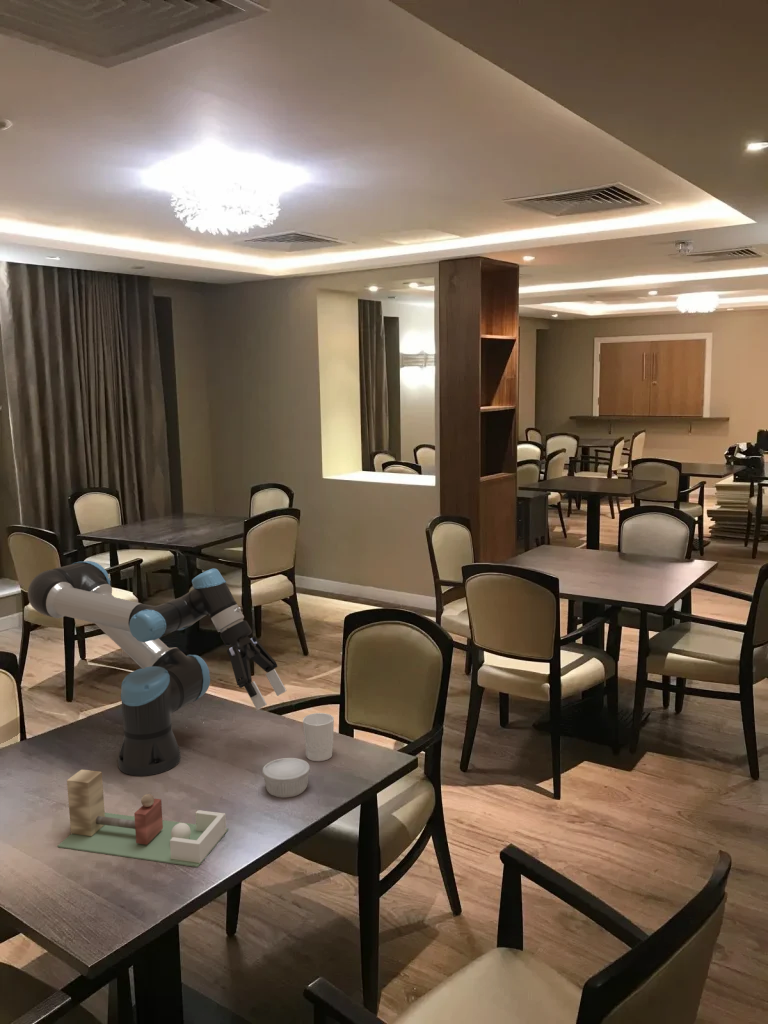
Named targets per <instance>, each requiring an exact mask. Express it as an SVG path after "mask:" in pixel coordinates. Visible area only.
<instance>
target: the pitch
mask: <svg viewBox="0 0 768 1024" xmlns="http://www.w3.org/2000/svg"><path fill="white" fill-rule="evenodd" d="M105 817H110V818H118V819H126V820H133V821H135V816H134V815H128V814H119V813H111V812H105ZM162 821H163V829H162V830H161V831H160V832H159V833H158V834H157V835H156V836H155V837H154V838H153V839H152V840H151V841H150V842H149V843H148V844H147V845H146V844H139V843H136V832H135V829H131V828H124V827H116V826H109V825H104V826H102V827H101V828H100V829H99V830H98V831H97V832H96V833H95V834H94V835H92V836H86V835H79V834H72V833H70V834H69V835H68V836H67V837H66V838H64V839H63V841H62V842H60V843H59V844H58V845H57V848H60V849H61V848H62V849H69V850H74V851H83V852H90V853H96V854H102V855H103V854H104V855H110V856H116V857H123V858H124V857H125V858H131V859H139V860H144V861H151V862H159V863H164V864H165V863H166V864H172V865H173V864H174V865H177V866H178V865H179V866H186V867H193V868H199V866H200V865H201V864H202V863H203V862H204V860H205V859H206V858H207V857H208V855H209V854H210V853H211V852H212V851H213V849H214V848H215V847H216V846H217V845H218V844H219V842H220V841H221V839H222V838H223V837H224V836H225V835H226V834H227V832H228V831H229V828H227V827H226V832H225V833H224V834H223V836H222V837H221V838H220V839H219V841H218V842H217V843H216V844H215V845H214V847H213V848H212V849H211V850H210V852H209V853H208V854H207V855H206V856H205V858H204V859H203V860H202V861H201V863H196V862H189V861H182V860H175V859H171V851H170V840H171V839H172V837H171V831H172V829H173V827H174V826H175V825H176V824H178V823H182V822H179V821H173V820H164V819H162ZM184 823H185V824H187V825H188V826H189V827H190V830H191V835H190V838H189V839H190V840H197V839H198V838H199V837H200V836H201V835H202V833H203V832H204V831H197V830H196V823H188V822H184Z"/></svg>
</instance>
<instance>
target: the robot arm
mask: <svg viewBox="0 0 768 1024" xmlns="http://www.w3.org/2000/svg"><path fill="white" fill-rule="evenodd" d="M191 583H192V588H193V589H191V590H190V591H188V592H187V593H185V594H183V595H182V596H180V597H178V598H174V599H172V600H169V601H167V602H163V603H161V604H158V605H150V604H144V603H141V602H137V601H134V600H129V599H124V598H120V597H115V596H114V595H113V594H112V593H113V588H112V585H111V579H110V578H109V573H108V571H107V570H106V569H105V568H104V566H102V565H100V564H99V563H98V562H95V561H92V560H85V561H77V562H73V563H71V564H68V565H64V566H60V567H56V568H52V569H51V568H50V569H48V570H45V571H44V570H43V571H42V572H40V573H38V574H37V575H36V576H35V577H33V579H32V580H31V582H30V583H29V586H28V588H27V598H28V603H29V604H30V605H31V607H32V608H33V609H34V610H35V611H36V612H38V613H40V614H41V615H43V616H46V617H49V618H50V617H51V618H54V619H61V618H63V617H68V618H72V619H77V620H78V621H79V620H80V621H84V622H89V623H91V624H95V625H96V626H97V627H98V628H99V629H100V630H101V631H102V632H103V633H104V634H106V636H108V637H109V638H110V639H111V640H112V642H113V643H115V644H116V645H117V646H118V647H119V648H120V649H121V651H122V650H123V652H124V653H125V654H126V655H127V656H128V657H130V658H131V660H133V661H134V662H135V663H136V664H137V665H138V666H139V667H140V668H138V669H136V670H133V671H132V672H130V673H128V674H127V675H125V677H124V678H123V680H122V681H121V685H120V687H121V688H120V689H121V693H120V700H121V710H122V713H121V714H122V724H123V739H122V743H121V747H120V750H119V753H118V758H117V760H118V761H117V762H118V763H117V764H118V768H119V771H121V772H122V773H124V774H126V775H129V776H136V777H137V776H139V777H143V776H153V775H156V774H161V773H164V772H166V771H169V770H171V769H172V768H173V769H174V768H175V767H176V766H177V765H178V764H179V763H180V761H181V749H180V746H179V745H178V742H177V739H176V737H175V734H174V732H173V729H172V727H173V726H172V714H173V713H174V712H177V711H178V710H180V709H182V708H183V707H185V706H188V705H189V704H191V703H194V702H196V701H197V700H199V699H200V698H201V697H203V696H204V695H205V694H206V693H207V692H208V690H209V687H210V684H211V676H210V673H211V672H210V669H209V666H208V664H207V662H206V661H205V660H204V659H203V658H202V656H199V655H197V654H187V655H186V654H185V653H184V652H183V651H182V650H181V649H179V648H178V647H169V646H167V644H166V643H164V641H162V640H161V638H162V637H164V636H165V635H168V634H170V633H172V632H176V631H183V630H186V629H188V628H189V627H191V626H193V625H194V624H195V623H196V622H198V621H199V620H201V619H203V618H204V617H205V616H207V615H208V616H209V617H210V620H211V621H212V623H213V625H214V628H215V629H216V631H217V632H218V633H219V632H220V635H219V636H220V638H221V640H222V641H223V644H224V646H225V647H229V648H227V649H226V653H227V655H228V657H229V660H230V663H231V667H232V670H233V675H234V678H235V681H236V685H237V686H238V687H239V689H242V688H244V689H245V691H246V693H247V695H248V696H249V698H250V700H251V701H252V704H253V706H254V708H255V709H256V711H258V710H260V709H262V708H264V707H265V706H267V705H268V704H267V702H266V700H265V698H264V696H263V694H262V693H261V690H260V689H259V687H258V684H257V683H256V681H254V680H253V679H252V671H251V663H250V660H252V661H253V662H254V663H255V664H256V665H257V666H258V667H260V668H261V669H262V670H263V671H265V672H266V673H265V676H266V678H267V680H268V682H269V683H270V686H271V688H272V689H273V691H274V694H275V695H276V696H277V697H279V696H280V695H282V694H284V693H286V692H287V689H286V687H285V685H284V683H283V681H282V679H281V678H280V675H279V674H278V672H277V671H276V670H277V669H276V668H278V664H277V662H276V661H275V659H274V657H272V655H270V653H269V652H268V651H267V649H266V648H265V647H264V646H263V645H262V643H260V641H259V639H258V638H257V636H253V637H251V638H250V635H251V634H252V633H253V632H252V631H253V630H252V628H251V626H250V625H249V622H248V621H247V620H245V619H244V618H245V616H244V614H243V612H242V608H241V606H239V605H238V602H237V601H236V600H235V598H234V596H233V594H232V592H231V590H230V588H229V585H228V583H227V581H226V580H225V578H224V577H223V575H222V574H221V571H219V569H217V568H210V569H207V570H205V571H203V572H202V573H199V574H198V575H196V576H195V577H193V578H192V579H191ZM230 646H231V647H230Z"/></svg>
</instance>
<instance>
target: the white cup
mask: <svg viewBox="0 0 768 1024" xmlns="http://www.w3.org/2000/svg"><path fill="white" fill-rule="evenodd" d="M334 719H335V718H334V716H333V715H332V714H331V713H325V712H314V713H310V714H307V715H305V716H304V717H303V718H302V724H303V738H304V746H305V756H306V758H307V760H310V761H312V762H323V761H327V760H330V759H331V758H332V756H333V746H334V730H335V727H334V726H335V725H334V722H335V721H334Z"/></svg>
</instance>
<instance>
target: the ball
mask: <svg viewBox="0 0 768 1024" xmlns="http://www.w3.org/2000/svg"><path fill="white" fill-rule="evenodd" d="M185 823H186V822H181V823H178V824H176V825H175V826H174V827H173V829H172V831H171V837H172V838H173V837H176V838H183V839H189V838H190V835H191V830H190V827H189V826H188V825H187V824H185Z"/></svg>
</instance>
